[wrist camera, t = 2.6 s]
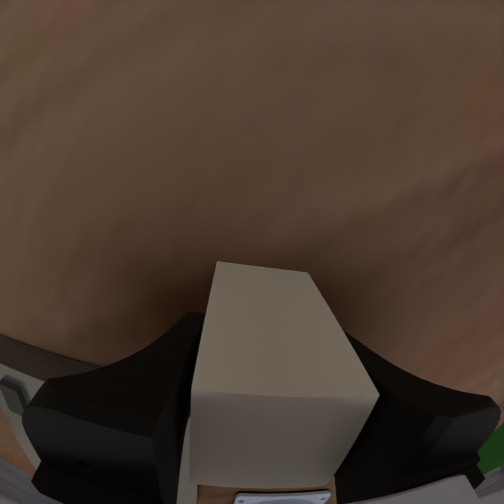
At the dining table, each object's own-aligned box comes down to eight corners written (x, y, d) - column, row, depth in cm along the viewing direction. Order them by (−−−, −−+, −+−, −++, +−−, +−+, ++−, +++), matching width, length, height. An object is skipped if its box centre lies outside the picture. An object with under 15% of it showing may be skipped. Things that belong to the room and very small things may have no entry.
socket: (198, 497, 19) (195, 524, 16) (49, 457, 18) (38, 480, 15) (204, 385, 15) (199, 426, 12) (-1, 334, 14) (-26, 357, 11)
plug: (290, 347, 14) (326, 485, 7) (208, 339, 14) (189, 483, 6) (307, 272, 13) (379, 395, 6) (216, 261, 13) (191, 388, 5)
